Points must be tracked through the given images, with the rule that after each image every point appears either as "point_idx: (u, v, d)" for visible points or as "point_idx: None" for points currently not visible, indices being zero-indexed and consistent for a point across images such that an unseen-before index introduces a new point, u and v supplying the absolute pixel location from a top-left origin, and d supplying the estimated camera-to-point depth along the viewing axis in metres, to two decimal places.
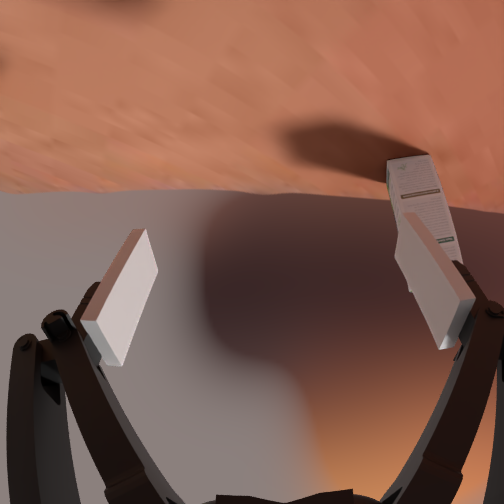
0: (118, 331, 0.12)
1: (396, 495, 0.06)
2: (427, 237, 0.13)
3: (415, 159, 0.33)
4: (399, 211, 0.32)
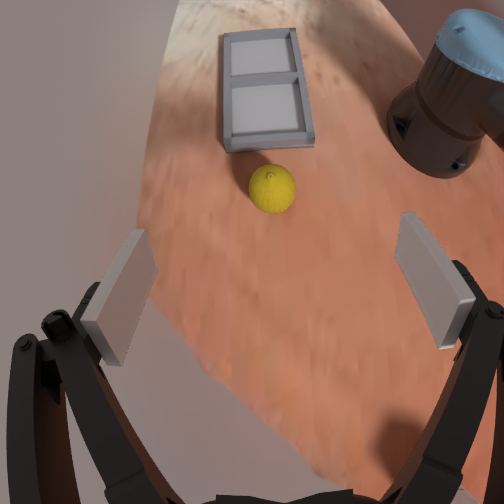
0: (118, 331, 0.12)
1: (396, 495, 0.06)
2: (427, 237, 0.13)
3: None
4: None
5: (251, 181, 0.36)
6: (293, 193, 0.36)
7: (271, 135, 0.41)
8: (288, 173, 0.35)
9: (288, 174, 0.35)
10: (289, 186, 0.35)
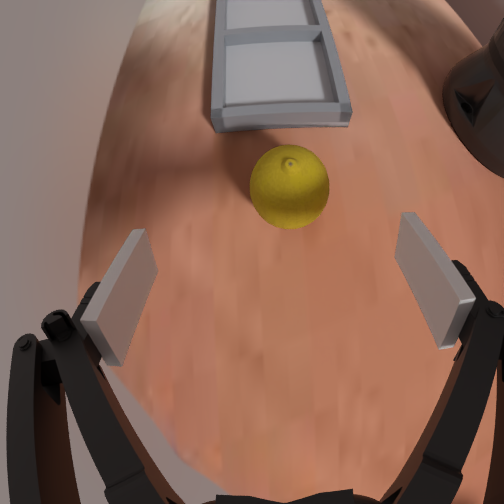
0: (118, 331, 0.12)
1: (396, 495, 0.06)
2: (427, 237, 0.13)
3: None
4: None
5: (255, 173, 0.20)
6: (326, 196, 0.21)
7: (285, 105, 0.25)
8: (319, 161, 0.20)
9: (319, 162, 0.20)
10: (323, 183, 0.20)
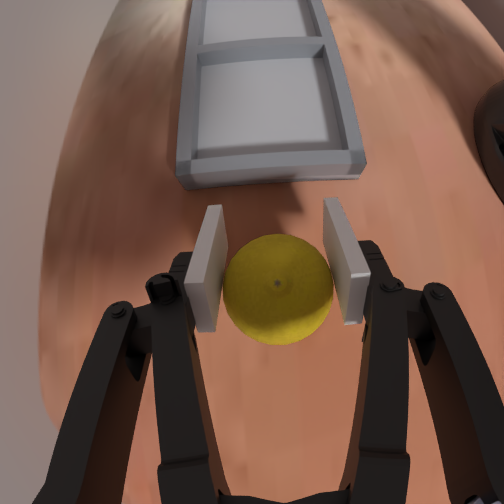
0: (213, 296, 0.13)
1: None
2: (340, 219, 0.15)
3: None
4: None
5: (227, 283, 0.14)
6: (329, 307, 0.15)
7: (275, 155, 0.19)
8: (321, 263, 0.14)
9: (321, 267, 0.14)
10: (325, 300, 0.14)
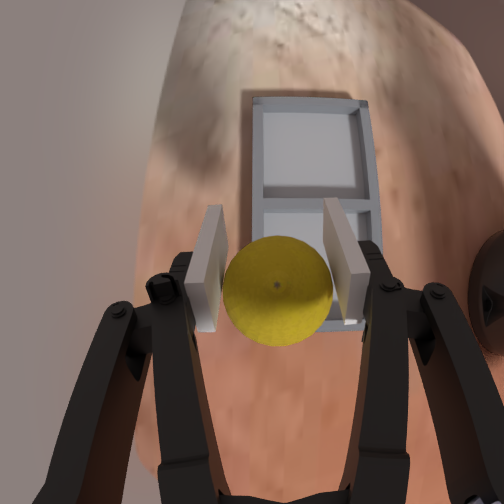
0: (213, 296, 0.13)
1: None
2: (340, 219, 0.15)
3: None
4: None
5: (227, 284, 0.14)
6: (329, 309, 0.15)
7: (323, 323, 0.28)
8: (321, 265, 0.14)
9: (321, 268, 0.14)
10: (324, 301, 0.14)
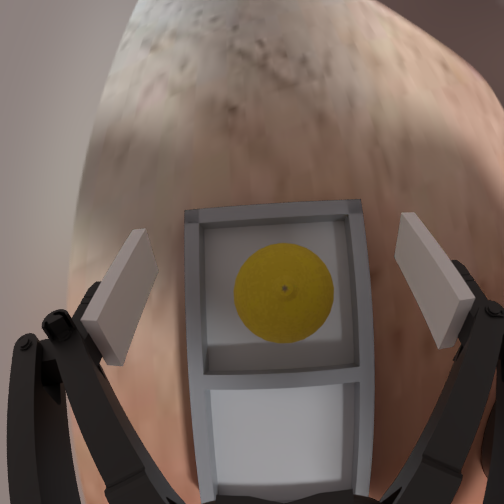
0: (118, 331, 0.12)
1: (396, 495, 0.06)
2: (427, 237, 0.13)
3: None
4: None
5: (238, 288, 0.16)
6: (330, 309, 0.17)
7: None
8: (323, 269, 0.16)
9: (323, 273, 0.15)
10: (326, 302, 0.15)
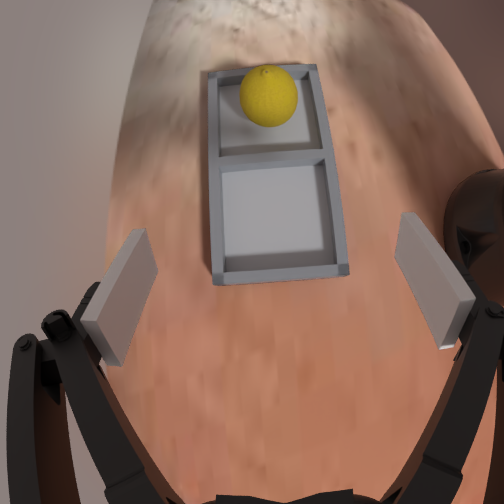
0: (118, 331, 0.12)
1: (396, 495, 0.06)
2: (427, 237, 0.13)
3: None
4: None
5: (242, 83, 0.26)
6: (295, 97, 0.27)
7: (284, 270, 0.28)
8: (288, 73, 0.26)
9: (288, 74, 0.26)
10: (291, 86, 0.26)
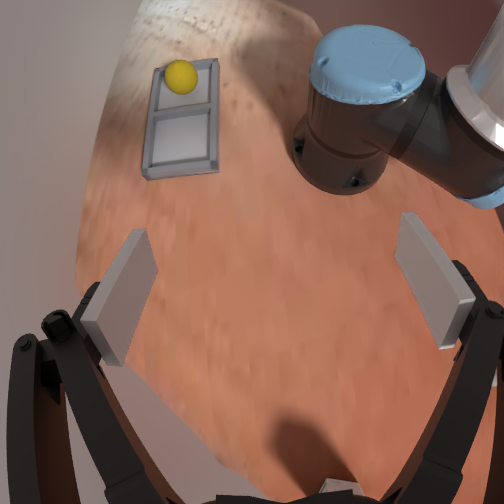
0: (118, 331, 0.12)
1: (396, 495, 0.06)
2: (427, 237, 0.13)
3: (347, 482, 0.38)
4: None
5: None
6: (193, 75, 0.47)
7: (179, 164, 0.47)
8: (189, 63, 0.46)
9: (189, 63, 0.46)
10: (189, 69, 0.46)
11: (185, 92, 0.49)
